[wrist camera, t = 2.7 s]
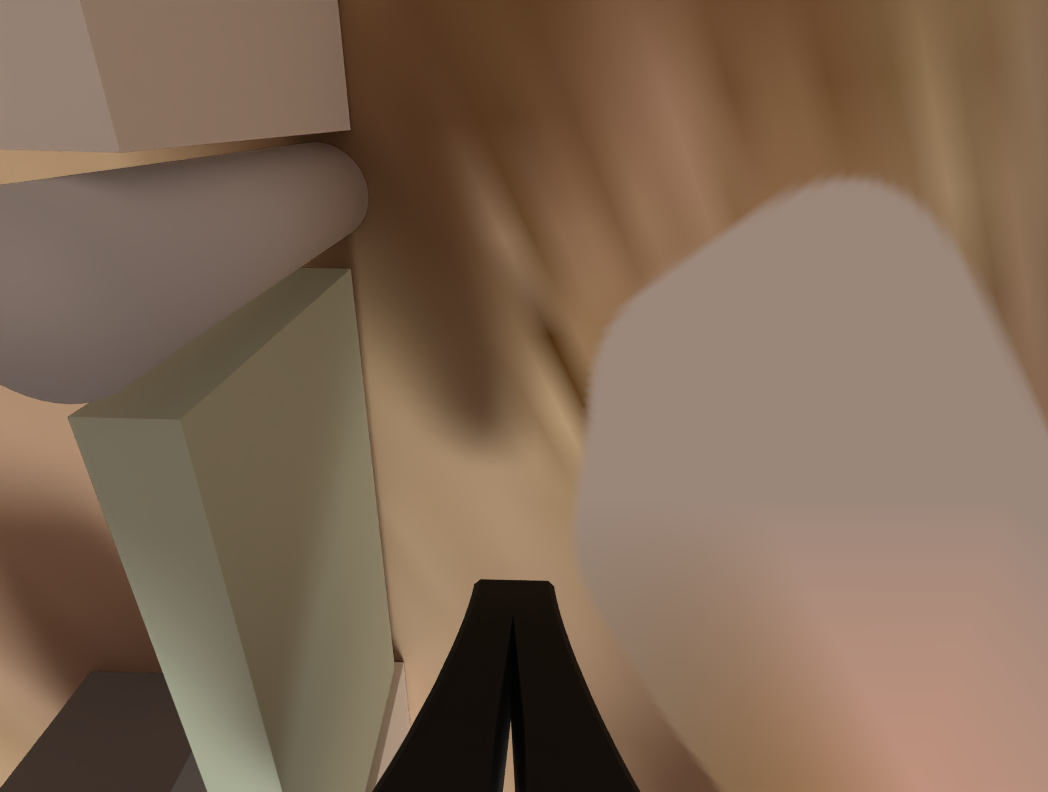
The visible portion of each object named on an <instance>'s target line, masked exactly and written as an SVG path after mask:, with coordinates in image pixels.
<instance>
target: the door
mask: <svg viewBox="0 0 1048 792" xmlns="http://www.w3.org/2000/svg"><path fill="white" fill-rule="evenodd" d="M68 420H69V423H70V425H71V428H72V431H73V433H74V436H75V439H76V441H77V444H78V447H79V449H80V452H81V455H82V457H83V460H84V463H85V465H86V468H87V471H88V473H89V476H90V479H91V482H92V484H93V487H94V490H95V492H96V495H97V498H98V500H99V503H100V506H101V508H102V511H103V514H104V516H105V519H106V522H107V524H108V527H109V530H110V532H111V535H112V538H113V540H114V543H115V546H116V548H117V551H118V554H119V556H120V559H121V562H122V565H123V567H124V570H125V573H126V575H127V578H128V581H129V583H130V586H131V589H132V591H133V594H134V597H135V599H136V602H137V605H138V607H139V610H140V613H141V615H142V618H143V621H144V623H145V626H146V629H147V631H148V634H149V637H150V639H151V642H152V645H153V647H154V650H155V653H156V656H157V658H158V661H159V664H160V666H161V669H162V672H163V674H164V677H165V680H166V682H167V685H168V688H169V690H170V693H171V696H172V698H173V701H174V704H175V706H176V709H177V712H178V714H179V717H180V720H181V722H182V725H183V728H184V730H185V733H186V736H187V739H188V741H189V744H190V747H191V749H192V752H193V755H194V757H195V760H196V763H197V765H198V768H199V771H200V773H201V776H202V779H203V781H204V784H205V787H206V789H207V792H365V790H366V786H367V782H368V778H369V774H370V769H371V765H372V761H373V757H374V753H375V749H376V744H377V740H378V736H379V732H380V728H381V724H382V719H383V715H384V711H385V707H386V703H387V699H388V694H389V690H390V686H391V682H392V678H393V674H394V669H395V666H394V657H393V647H392V638H391V629H390V620H389V611H388V602H387V593H386V584H385V575H384V566H383V557H382V548H381V539H380V530H379V520H378V511H377V502H376V493H375V484H374V475H373V466H372V457H371V448H370V439H369V430H368V421H367V412H366V403H365V393H364V384H363V375H362V366H361V357H360V348H359V339H358V330H357V321H356V312H355V303H354V294H353V285H352V276H351V269H333V268H299V269H297V270H296V271H294V272H293V273H292V274H290V275H289V276H287V277H286V278H284V279H283V280H281V281H280V282H278V283H277V284H275V285H274V286H272V287H271V288H269V289H268V290H267V291H265V292H264V293H262V294H261V295H259V296H258V297H256V298H255V299H253V300H252V301H250V302H249V303H247V304H246V305H245V306H243V307H242V308H240V309H239V310H237V311H236V312H234V313H233V314H231V315H230V316H228V317H227V318H225V319H224V320H222V321H221V322H220V323H218V324H217V325H215V326H214V327H212V328H211V329H209V330H208V331H206V332H205V333H203V334H202V335H200V336H199V337H198V338H196V339H195V340H193V341H192V342H190V343H189V344H187V345H186V346H184V347H183V348H181V349H180V350H178V351H177V352H175V353H174V354H173V355H171V356H170V357H168V358H167V359H165V360H164V361H162V362H161V363H159V364H158V365H156V366H155V367H153V368H152V369H151V370H149V371H148V372H146V373H145V374H143V375H142V376H140V377H139V378H137V379H136V380H134V381H133V382H131V383H130V384H128V385H127V386H126V387H124V388H123V389H121V390H120V391H118V392H117V393H115V394H113V395H111V396H109V397H107V398H104V399H101V400H98V401H94V402H89V403H88V404H86V405H85V406H83V407H82V408H80V409H79V410H77V411H76V412H74V413H73V414H71V415H70V416H68Z"/></svg>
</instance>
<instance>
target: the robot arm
mask: <svg viewBox="0 0 1048 792" xmlns="http://www.w3.org/2000/svg"><path fill="white" fill-rule="evenodd" d="M510 722H511V728H512V746H513V764H514V781H515V792H640V790H639V789H638V787H637V785H636V783H635V781H634V780H633V778H632V776H631V774H630V772H629V771H628V769H627V767H626V765H625V763H624V761H623V759H622V757H621V755H620V754H619V752H618V750H617V748H616V746H615V744H614V742H613V740H612V738H611V736H610V734H609V732H608V730H607V728H606V726H605V724H604V722H603V720H602V718H601V715H600V713H599V711H598V709H597V707H596V705H595V702H594V700H593V698H592V696H591V694H590V691H589V689H588V686H587V684H586V682H585V679H584V677H583V675H582V672H581V670H580V668H579V665H578V663H577V660H576V658H575V655H574V653H573V650H572V647H571V645H570V642H569V639H568V636H567V633H566V630H565V627H564V624H563V621H562V618H561V615H560V611H559V607H558V603H557V599H556V595H555V589H554V586H553V585H552V584H551V583H550V582H549V581H529V580H485V579H481V580H479V581H478V582H477V583H475V584H474V588H473V592H472V596H471V599H470V602H469V605H468V608H467V611H466V614H465V617H464V619H463V622H462V625H461V627H460V629H459V632H458V634H457V637H456V639H455V641H454V644H453V646H452V648H451V650H450V652H449V654H448V657H447V659H446V661H445V663H444V665H443V667H442V669H441V671H440V674H439V676H438V678H437V680H436V682H435V684H434V686H433V688H432V690H431V692H430V694H429V695H428V697H427V699H426V701H425V703H424V705H423V706H422V708H421V710H420V712H419V714H418V715H417V717H416V719H415V721H414V723H413V725H412V726H411V728H410V730H409V732H408V734H407V735H406V737H405V739H404V741H403V742H402V744H401V746H400V747H399V749H398V751H397V752H396V754H395V756H394V757H393V759H392V761H391V762H390V764H389V766H388V767H387V769H386V770H385V772H384V774H383V775H382V777H381V778H380V780H379V781H378V783H377V784H376V786H375V788H374V789H373V791H372V792H503V785H504V776H505V767H506V758H507V749H508V740H509V731H510Z"/></svg>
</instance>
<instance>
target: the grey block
mask: <svg viewBox="0 0 1048 792" xmlns="http://www.w3.org/2000/svg"><path fill="white" fill-rule="evenodd" d="M0 792H207V789H206V787H205V784H204V781H203V779H202V776H201V773H200V771H199V768H198V765H197V763H196V760H195V757H194V755H193V752H192V749H191V747H190V744H189V741H188V739H187V736H186V733H185V730H184V728H183V725H182V722H181V720H180V717H179V714H178V712H177V709H176V706H175V704H174V701H173V698H172V696H171V693H170V690H169V688H168V685H167V682H166V680H165V677H164V674H163V673H135V672H90V674H89V675H88V676H87V678H86V679H85V680H84V681H83V683H82V684H81V685H80V687H79V688H78V689H77V690H76V692H75V693H74V694H73V695H72V697H71V698H70V699H69V701H68V702H67V703H66V704H65V706H64V707H63V708H62V710H61V711H60V712H59V713H58V715H57V716H56V717H55V719H54V720H53V721H52V722H51V724H50V725H49V726H48V728H47V729H46V730H45V731H44V733H43V734H42V735H41V737H40V738H39V739H38V740H37V742H36V743H35V744H34V745H33V747H32V748H31V749H30V751H29V752H28V753H27V754H26V756H25V757H24V758H23V760H22V761H21V762H20V763H19V765H18V766H17V767H16V769H15V770H14V771H13V772H12V774H11V775H10V776H9V778H8V779H7V780H6V781H5V783H4V784H3V785H2V786H1V788H0Z"/></svg>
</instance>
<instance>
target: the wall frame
mask: <svg viewBox="0 0 1048 792" xmlns="http://www.w3.org/2000/svg"><path fill="white" fill-rule="evenodd" d="M345 130H351V129H350V119H349V109H348V99H347V89H346V78H345V68H344V58H343V48H342V38H341V28H340V18H339V8H338V0H0V149H3V150H41V151H78V152H116V153H121V152H132V151H142V150H152V149H162V148H172V147H182V146H193V145H203V144H213V143H223V142H233V141H244V140H254V139H264V138H274V137H284V136H294V135H305V134H315V133H325V132H335V131H345ZM368 201H369V195H368V187H367V184H366V180H365V178H364V176H363V174H362V172H361V170H360V168H359V167H358V165H357V164H356V163H355V162H354V161H353V159H352V158H351V157H350V156H348V155H347V154H346V153H345V152H343V151H342V150H340V149H338V148H336V147H335V146H332V145H329V144H325V143H320V142H309V143H302V144H295V145H288V146H280V147H273V148H266V149H258V150H251V151H244V152H236V153H229V154H222V155H215V156H207V157H200V158H193V159H185V160H178V161H171V162H164V163H156V164H149V165H142V166H134V167H127V168H120V169H113V170H105V171H98V172H91V173H83V174H76V175H69V176H61V177H54V178H47V179H40V180H32V181H25V182H18V183H10V184H3V185H0V385H2V386H4V387H6V388H8V389H10V390H13V391H15V392H18V393H20V394H23V395H25V396H28V397H32V398H35V399H38V400H42V401H48V402H53V403H62V404H82V403H88V402H94V401H98V400H101V399H104V398H107V397H109V396H111V395H113V394H115V393H117V392H118V391H120V390H121V389H123V388H124V387H126V386H127V385H128V384H130V383H131V382H133V381H134V380H136V379H137V378H139V377H140V376H142V375H143V374H145V373H146V372H148V371H149V370H151V369H152V368H153V367H155V366H156V365H158V364H159V363H161V362H162V361H164V360H165V359H167V358H168V357H170V356H171V355H173V354H174V353H175V352H177V351H178V350H180V349H181V348H183V347H184V346H186V345H187V344H189V343H190V342H192V341H193V340H195V339H196V338H198V337H199V336H200V335H202V334H203V333H205V332H206V331H208V330H209V329H211V328H212V327H214V326H215V325H217V324H218V323H220V322H221V321H222V320H224V319H225V318H227V317H228V316H230V315H231V314H233V313H234V312H236V311H237V310H239V309H240V308H242V307H243V306H245V305H246V304H247V303H249V302H250V301H252V300H253V299H255V298H256V297H258V296H259V295H261V294H262V293H264V292H265V291H267V290H268V289H269V288H271V287H272V286H274V285H275V284H277V283H278V282H280V281H281V280H283V279H284V278H286V277H287V276H289V275H290V274H292V273H293V272H294V271H296V270H297V269H299V268H300V267H302V266H303V265H305V264H306V263H308V262H309V261H311V260H312V259H314V258H315V257H316V256H318V255H319V254H321V253H322V252H324V251H325V250H327V249H328V248H330V247H331V246H333V245H334V244H336V243H337V242H339V241H340V240H341V239H343V238H344V237H346V236H347V235H349V234H350V233H352V232H353V231H354V230H355V229H357V228H358V227H359V225H360V224H361V223H362V221H363V219H364V217H365V215H366V212H367V208H368ZM394 666H395V669H394V674H393V678H392V682H391V686H390V690H389V694H388V699H387V703H386V707H385V711H384V715H383V719H382V724H381V728H380V732H379V736H378V740H377V744H376V749H375V753H374V757H373V761H372V765H371V769H370V774H369V778H368V782H367V786H366V790H365V792H372V791H373V789H374V788H375V786H376V784H377V783H378V781H379V780H380V778H381V777H382V775H383V774H384V772H385V770H386V769H387V767H388V766H389V764H390V762H391V761H392V759H393V757H394V756H395V754H396V752H397V751H398V749H399V747H400V746H401V744H402V742H403V741H404V739H405V737H406V735H407V734H408V732H409V730H410V721H409V711H408V701H407V691H406V681H405V671H404V662H394Z"/></svg>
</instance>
